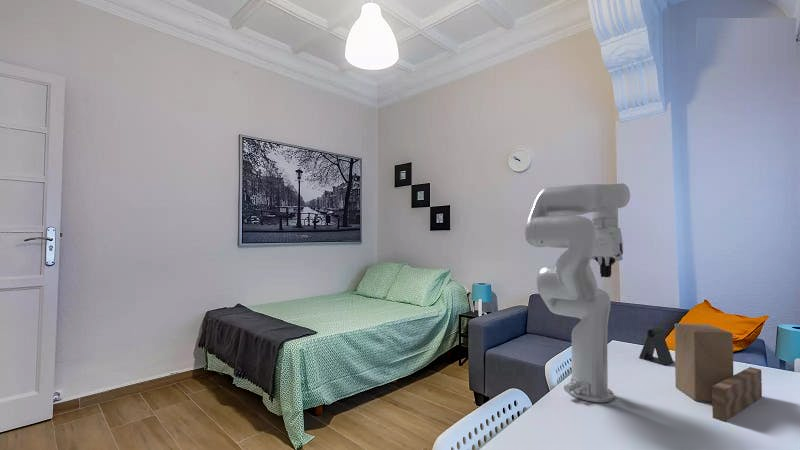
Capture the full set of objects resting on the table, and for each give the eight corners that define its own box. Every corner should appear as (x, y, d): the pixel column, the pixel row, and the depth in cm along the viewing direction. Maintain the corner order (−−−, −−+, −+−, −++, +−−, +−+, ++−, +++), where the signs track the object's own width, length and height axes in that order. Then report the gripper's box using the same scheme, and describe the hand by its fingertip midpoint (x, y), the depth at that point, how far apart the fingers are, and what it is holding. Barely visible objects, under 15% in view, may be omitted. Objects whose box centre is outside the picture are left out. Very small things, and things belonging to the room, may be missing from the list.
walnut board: (724, 421, 92) (724, 389, 92) (712, 417, 94) (712, 386, 95) (761, 397, 107) (761, 369, 107) (750, 393, 109) (749, 367, 109)
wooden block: (735, 404, 102) (733, 332, 102) (695, 401, 104) (694, 331, 104) (710, 389, 112) (709, 324, 112) (674, 387, 113) (673, 322, 114)
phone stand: (639, 358, 140) (638, 327, 141) (647, 356, 143) (647, 325, 143) (664, 365, 132) (664, 332, 133) (673, 363, 135) (673, 330, 135)
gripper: (578, 224, 130) (578, 275, 129) (622, 222, 117) (622, 280, 116) (590, 224, 134) (591, 274, 133) (634, 223, 121) (634, 278, 120)
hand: (605, 276), depth 125 cm, fingers closed
